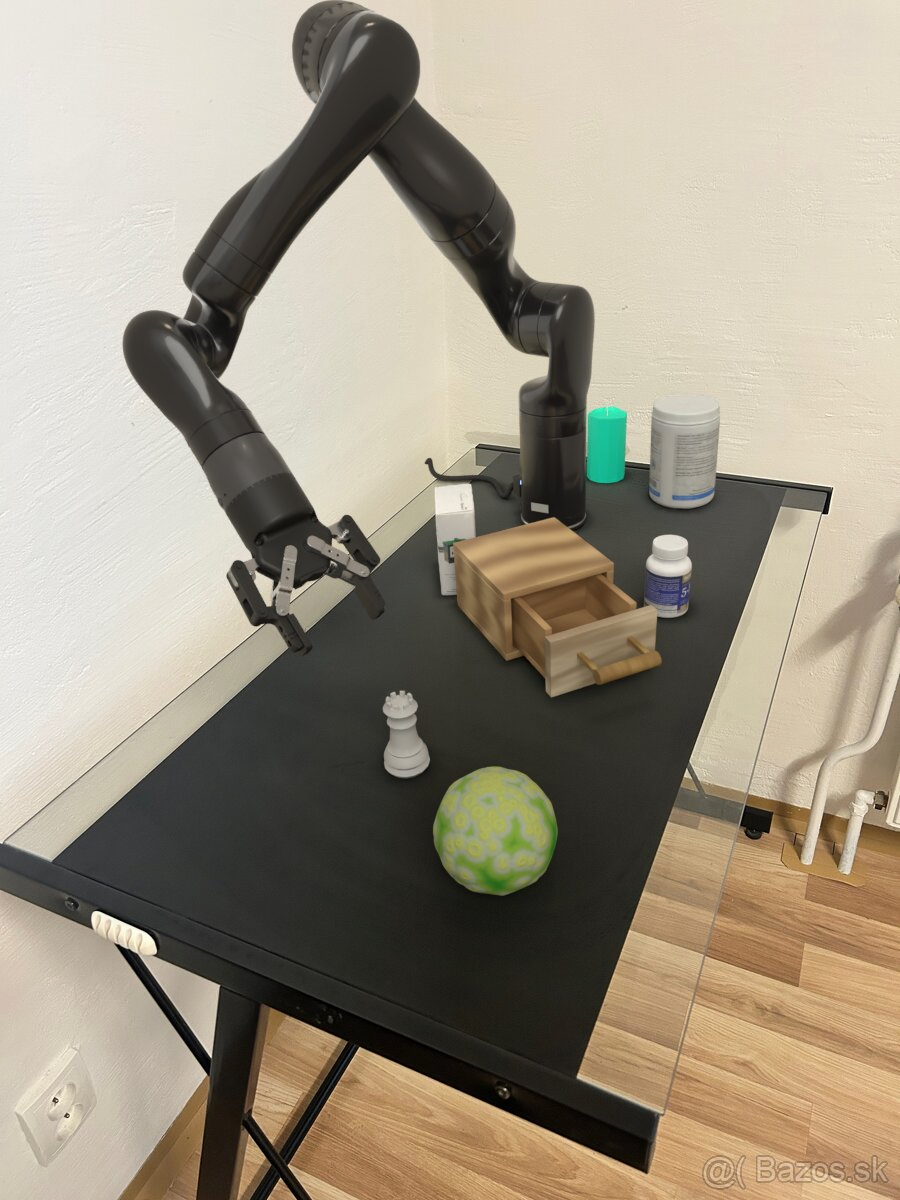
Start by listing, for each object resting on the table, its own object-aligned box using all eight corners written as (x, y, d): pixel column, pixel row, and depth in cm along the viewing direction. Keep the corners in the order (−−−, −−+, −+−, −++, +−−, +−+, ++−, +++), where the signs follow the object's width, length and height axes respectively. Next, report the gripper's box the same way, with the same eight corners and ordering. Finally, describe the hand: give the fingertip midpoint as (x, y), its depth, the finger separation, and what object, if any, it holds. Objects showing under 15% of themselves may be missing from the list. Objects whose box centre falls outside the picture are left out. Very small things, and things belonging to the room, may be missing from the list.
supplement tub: (723, 492, 133) (732, 397, 126) (699, 516, 127) (707, 418, 119) (663, 480, 138) (668, 389, 131) (636, 503, 132) (641, 408, 124)
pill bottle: (688, 620, 104) (694, 553, 99) (643, 618, 105) (646, 552, 100) (687, 597, 108) (693, 532, 103) (644, 595, 109) (647, 531, 105)
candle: (601, 486, 138) (603, 412, 132) (579, 474, 143) (580, 402, 137) (632, 477, 140) (635, 404, 134) (609, 465, 145) (611, 394, 139)
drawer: (682, 688, 91) (686, 632, 87) (575, 725, 87) (575, 668, 84) (593, 610, 105) (594, 559, 102) (498, 638, 101) (495, 587, 98)
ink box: (439, 564, 120) (432, 484, 114) (475, 561, 120) (471, 481, 113) (441, 596, 112) (434, 512, 106) (480, 593, 112) (475, 509, 106)
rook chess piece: (376, 775, 84) (366, 708, 80) (396, 745, 88) (387, 680, 84) (419, 785, 83) (411, 717, 79) (437, 754, 86) (431, 689, 82)
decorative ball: (569, 915, 69) (569, 822, 64) (442, 929, 68) (432, 836, 63) (547, 823, 77) (545, 735, 72) (434, 835, 77) (424, 747, 72)
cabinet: (612, 628, 103) (614, 562, 99) (506, 661, 99) (503, 593, 94) (554, 578, 114) (554, 516, 110) (457, 605, 110) (452, 542, 106)
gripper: (200, 497, 78) (293, 652, 77) (330, 450, 86) (416, 590, 85) (185, 534, 85) (270, 678, 83) (307, 487, 93) (387, 617, 91)
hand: (344, 633), depth 84 cm, fingers open, 8 cm apart
